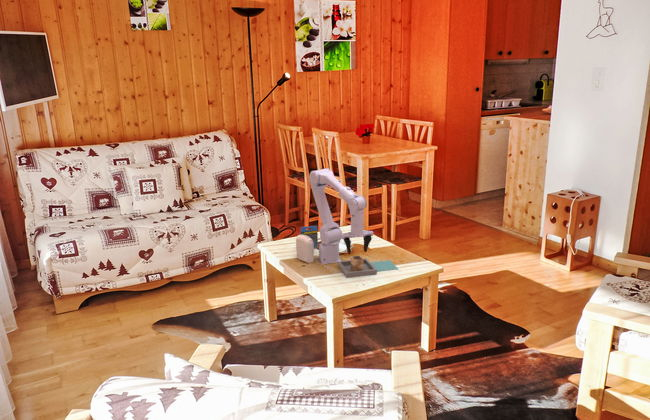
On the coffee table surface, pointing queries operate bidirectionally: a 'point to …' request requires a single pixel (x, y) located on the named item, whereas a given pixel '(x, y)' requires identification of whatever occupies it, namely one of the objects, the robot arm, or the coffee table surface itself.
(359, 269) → the maple block
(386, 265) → the teal board
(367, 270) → the parts bin
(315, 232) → the label tape cartridge
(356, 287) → the coffee table surface
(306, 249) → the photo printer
